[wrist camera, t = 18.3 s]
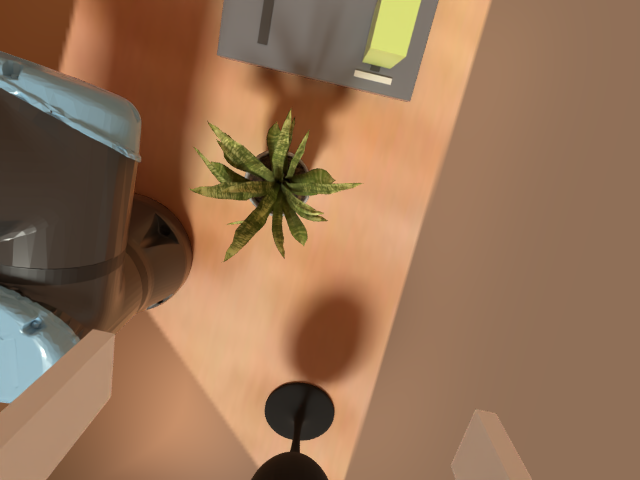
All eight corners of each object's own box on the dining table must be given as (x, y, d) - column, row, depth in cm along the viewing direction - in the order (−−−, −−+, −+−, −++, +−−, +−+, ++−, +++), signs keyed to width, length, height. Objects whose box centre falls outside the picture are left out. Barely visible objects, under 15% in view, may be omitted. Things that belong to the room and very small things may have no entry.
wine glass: (259, 432, 58) (224, 585, 39) (270, 376, 55) (237, 514, 36) (326, 444, 59) (324, 602, 40) (341, 389, 55) (345, 532, 36)
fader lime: (362, 62, 40) (370, 47, 31) (374, 8, 38) (387, -23, 29) (390, 68, 40) (405, 56, 31) (404, 15, 38) (424, -13, 30)
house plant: (334, 89, 43) (335, 75, 27) (366, 205, 47) (382, 250, 31) (216, 127, 45) (154, 134, 29) (256, 236, 49) (220, 293, 33)
